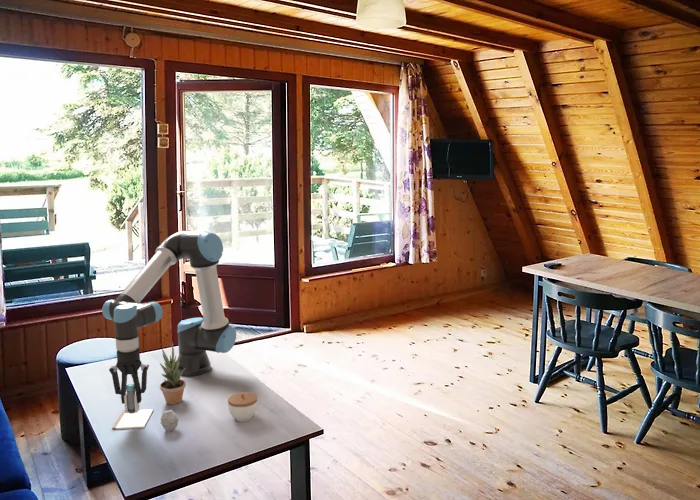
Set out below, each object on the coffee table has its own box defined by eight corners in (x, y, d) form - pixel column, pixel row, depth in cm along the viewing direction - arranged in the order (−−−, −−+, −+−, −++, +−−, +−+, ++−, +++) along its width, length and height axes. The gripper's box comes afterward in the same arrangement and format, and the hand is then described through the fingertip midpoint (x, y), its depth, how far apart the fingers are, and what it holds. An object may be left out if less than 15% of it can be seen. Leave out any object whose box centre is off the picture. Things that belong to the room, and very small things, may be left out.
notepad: (153, 410, 224) (153, 409, 224) (144, 428, 210) (144, 426, 210) (123, 411, 223) (123, 410, 223) (112, 429, 209) (112, 427, 209)
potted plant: (163, 408, 226) (159, 346, 221) (159, 399, 234) (155, 339, 230) (190, 403, 230) (186, 342, 226) (184, 394, 239) (181, 335, 234)
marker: (137, 409, 214) (136, 383, 212) (135, 413, 211) (133, 387, 209) (129, 410, 213) (127, 384, 212) (127, 413, 211) (125, 387, 209)
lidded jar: (230, 411, 223) (229, 388, 221) (259, 410, 224) (258, 387, 222) (226, 425, 212) (225, 400, 211) (257, 423, 213) (256, 399, 211)
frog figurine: (173, 423, 213) (172, 405, 212) (182, 430, 208) (181, 412, 207) (157, 429, 209) (156, 410, 208) (166, 436, 204) (164, 417, 203)
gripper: (153, 344, 212) (157, 405, 216) (107, 345, 211) (112, 407, 215) (148, 351, 205) (152, 414, 209) (101, 353, 203) (106, 417, 208)
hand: (132, 411), depth 212 cm, fingers closed on marker, 3 cm apart
